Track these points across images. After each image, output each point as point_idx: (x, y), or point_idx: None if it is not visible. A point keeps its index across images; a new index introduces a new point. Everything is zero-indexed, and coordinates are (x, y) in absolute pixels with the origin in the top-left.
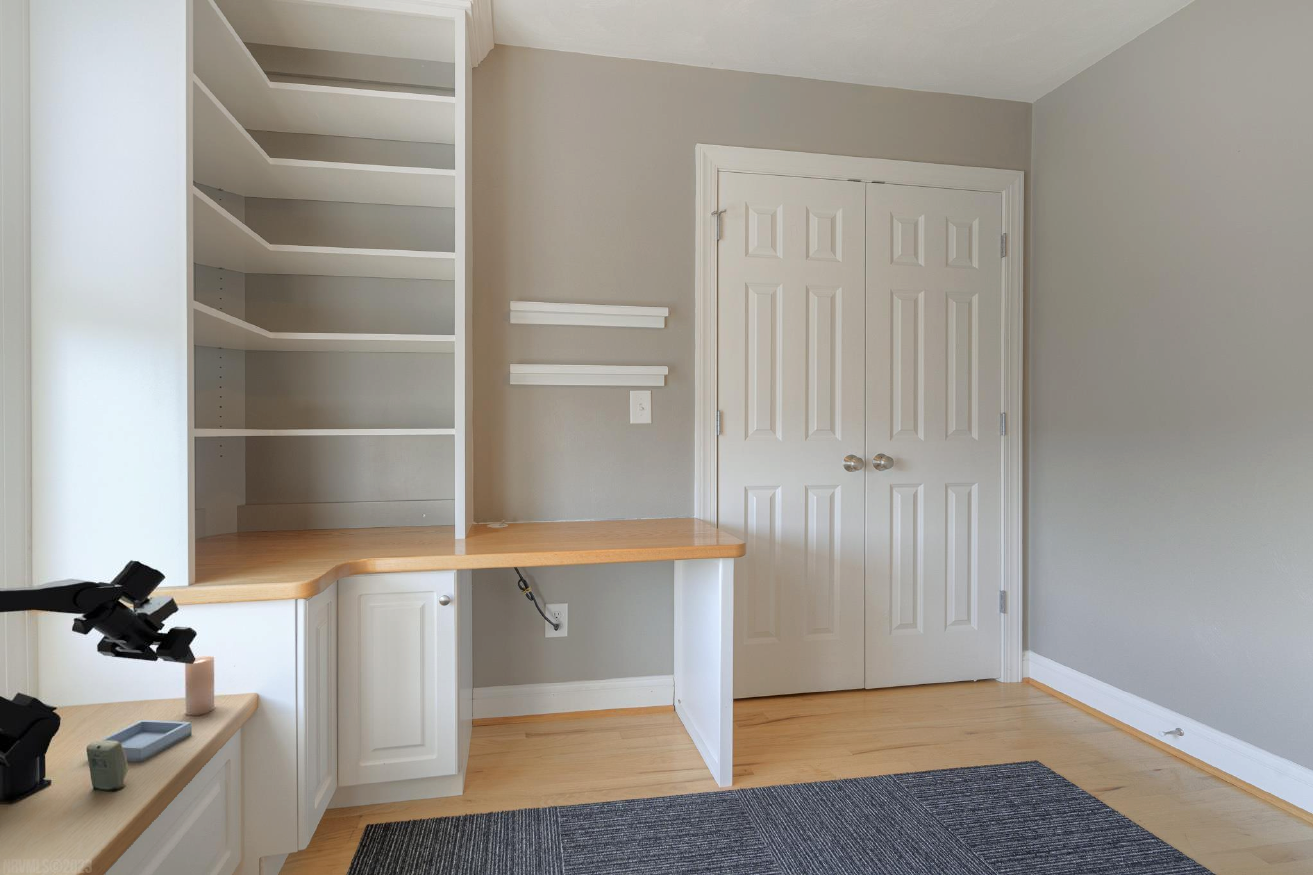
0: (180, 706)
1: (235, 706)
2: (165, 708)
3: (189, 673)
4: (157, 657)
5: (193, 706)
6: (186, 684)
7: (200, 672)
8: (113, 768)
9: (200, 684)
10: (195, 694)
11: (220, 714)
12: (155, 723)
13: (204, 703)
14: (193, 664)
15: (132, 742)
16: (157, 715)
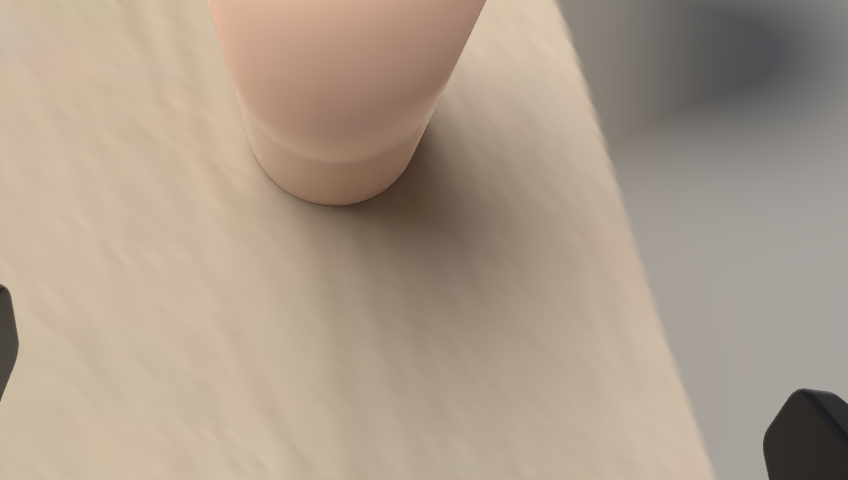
0: (126, 58)
1: (531, 55)
2: (34, 94)
3: (333, 102)
4: (3, 327)
5: (356, 189)
6: (287, 130)
7: (440, 72)
8: None
9: (420, 117)
10: (377, 161)
11: (528, 180)
12: None
13: (414, 149)
14: (387, 54)
15: None
16: (72, 213)
